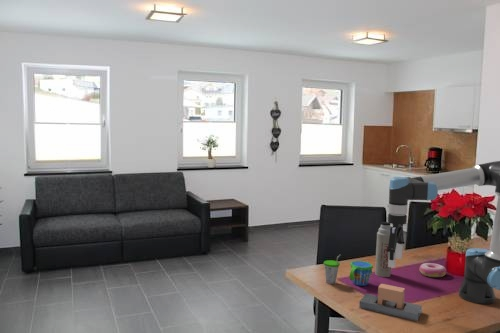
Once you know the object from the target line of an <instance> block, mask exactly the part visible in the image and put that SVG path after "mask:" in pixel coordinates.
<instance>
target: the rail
mask: <svg viewBox="0 0 500 333" xmlns="http://www.w3.org/2000/svg"><path fill="white" fill-rule="evenodd" d="M377 301H378V295H374V294H370V293H365V294H364V295H363V297H362V298H361V299H360V300H359V305H358V306H359V309H364V310H368V311H372V312H377V313H380V314H384V315H389V316H391V317H397V318H401V319H406V320H410V321H413V322H414V321H415V322H419V320H420V317H421V314H422V312H423V306H422V305H420V304H416V303H412V302H406V301H404V309H399V308H396V307H397V302H392V301H388V300H385V304H384V305H381V304H377Z"/></svg>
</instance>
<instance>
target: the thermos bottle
mask: <svg viewBox="0 0 500 333" xmlns="http://www.w3.org/2000/svg"><path fill="white" fill-rule="evenodd" d="M390 228H391V223H389V222H388V221H381V222H380V227H379V228H378V231H377V232H376V248H375V262H374V264H375V265H374V266H375V267H374V274H375V275H376V276H378V277H382V278H383V277H384V278H387V277H389V278H390V277H391V274H392V267H388V256H389V252H387V250H388V244H389V237H390ZM391 249H392V248H391Z"/></svg>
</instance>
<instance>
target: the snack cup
mask: <svg viewBox="0 0 500 333" xmlns="http://www.w3.org/2000/svg"><path fill="white" fill-rule="evenodd" d="M349 265H350V267H351V269H350V271H349V278H348V279H349V280H351V281H352V283H353V284H354V285H355V286H360V287H361V286H362V287H366V286H367V285H369V282H370V278H371V275H372V274H373V264H372V263H370V262H367V261H363V260H354V261H351V262H350V264H349Z"/></svg>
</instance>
